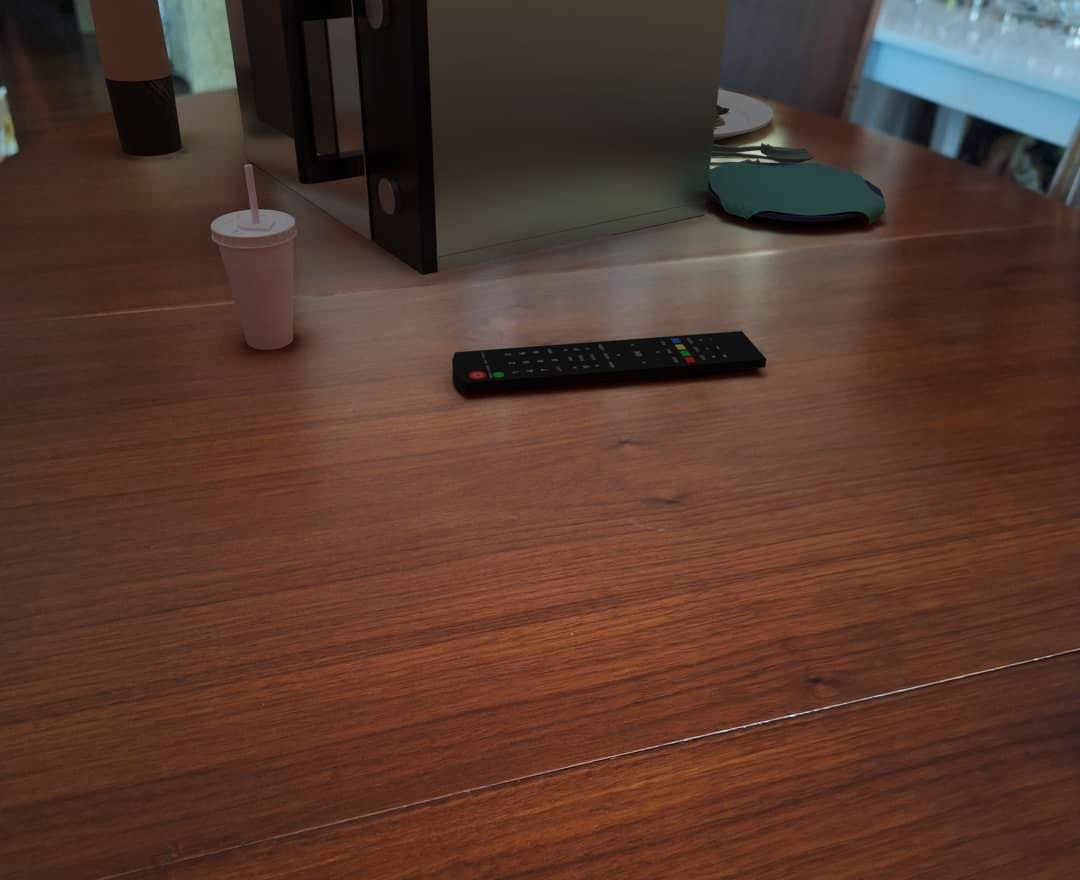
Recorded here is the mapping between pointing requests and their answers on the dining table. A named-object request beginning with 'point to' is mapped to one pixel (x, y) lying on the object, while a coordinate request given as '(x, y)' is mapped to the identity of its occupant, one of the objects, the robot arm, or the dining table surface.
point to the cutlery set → (789, 187)
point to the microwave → (534, 121)
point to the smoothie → (259, 269)
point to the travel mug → (137, 75)
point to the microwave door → (305, 100)
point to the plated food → (739, 115)
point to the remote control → (603, 361)
